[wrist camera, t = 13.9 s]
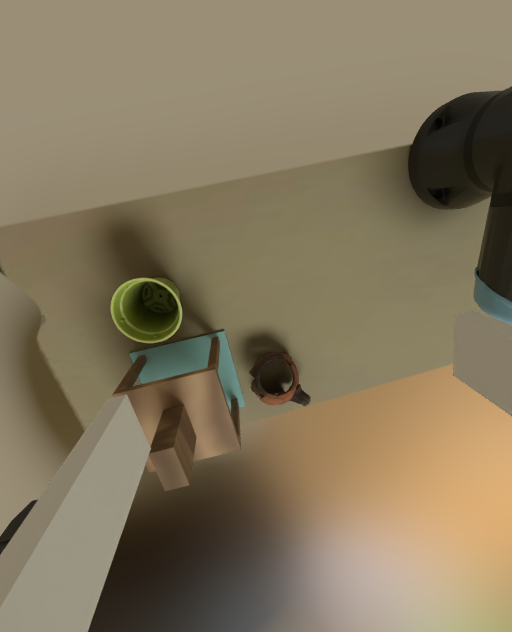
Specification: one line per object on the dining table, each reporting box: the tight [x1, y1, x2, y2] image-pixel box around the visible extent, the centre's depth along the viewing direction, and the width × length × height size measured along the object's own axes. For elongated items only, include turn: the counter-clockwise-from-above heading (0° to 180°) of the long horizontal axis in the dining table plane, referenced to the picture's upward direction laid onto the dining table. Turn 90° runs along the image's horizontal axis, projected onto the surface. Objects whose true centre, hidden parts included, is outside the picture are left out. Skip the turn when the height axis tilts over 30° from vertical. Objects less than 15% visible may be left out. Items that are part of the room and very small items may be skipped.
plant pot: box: [111, 277, 182, 343], centre depth 42 cm, size 9×9×9 cm
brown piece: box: [113, 337, 241, 491], centre depth 43 cm, size 14×14×20 cm
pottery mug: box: [249, 352, 310, 406], centre depth 51 cm, size 12×10×8 cm
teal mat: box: [129, 330, 245, 409], centre depth 52 cm, size 17×16×1 cm
